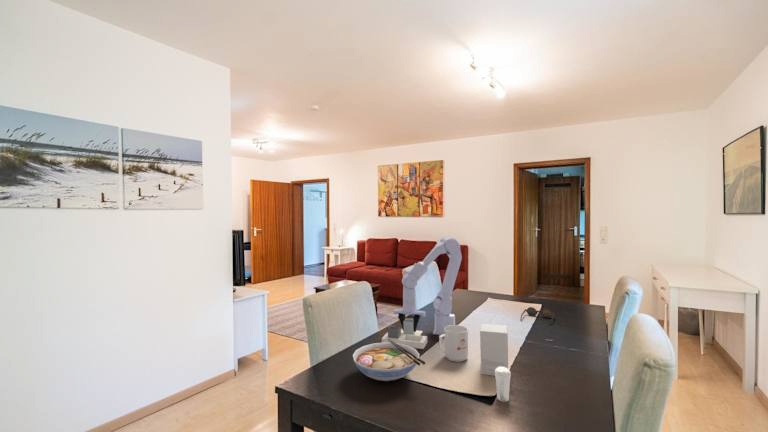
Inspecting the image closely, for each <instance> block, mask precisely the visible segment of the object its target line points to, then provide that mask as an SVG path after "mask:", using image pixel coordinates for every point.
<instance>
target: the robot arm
mask: <svg viewBox="0 0 768 432" xmlns="http://www.w3.org/2000/svg"><path fill="white" fill-rule="evenodd" d="M461 250H462V249H461V244H460V242H459V241H458V240H457V239H456V238H453V237H451V238H450V237H449V236H448V237H447V236H444V237H442V238H441V239H440V240H439V241H438V242H437V243H436V244H435V245H434V247H433V248H432V249H431V250H430V252H429V253H428V254H427V255H426V256H425V257H424V259H423V260H422V261H418V262H417V263H416V262H415V263H414V264H413V267H412V268H411V269H410V270H409V271H407V273H406V274H403V276H402V277H401V278H402V279H401V281H400V282H401V284H402V286H403V287H402V308H395V309H393V315H398V316H397V318H398V321H399V322H400V324H401V325H400V326H401V329H403V331H404V327H403V321H404V320H405V319H406V316H413V318H412V319H413V320H414V332H416V330H417V329H418V328H417V327H418V324H419V321H420V319H421V317H426V311H425V310H419V309H417V307H416V302H417V301H416V287H417V285H418V281H419V280H420V279H421V278H423V276H424V275H425V274H426V273H427V272H428V267H429V266H430V264H432V263H433V262H434V261H435V260H436V259H437V257H439V256H440V255H443V254H447V256H448V258H449V260H448V263H447V266H446V270H445V273H444V278H443V279H442V280H443V281H442V285H441V287H440V291H439V292H438V293H437V294H436V295H437V296H435V298H434V299H433V302H432V305H433V308H434V310H435V311H434V329H433V331H432V335H438V336H440V335H442V334H444V328H445V327H446V326H449V325H456V315H455V314H454V313H452V310H453V306H452V304H453V296H452V294H453V290H454V288H455V284H456V280H457V277H458V273H459V270H460V266H461V262H462V259H463V256H462V251H461Z"/></svg>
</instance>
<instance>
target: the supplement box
mask: <svg viewBox="0 0 768 432" xmlns="http://www.w3.org/2000/svg"><path fill="white" fill-rule="evenodd" d="M507 327H508V326H507V325H504V324H503V325H502V324H493V323H492V324H489V323H481V326H480V330H479V337H480V342H479V344H480V375H485V376H494V377H495V371H494V370H495V369H496V368H497V367H499V366H501V367H505V368H507V369H509V339H508V338H509V337H508V335H509V334H508V328H507ZM493 367H494V368H493Z"/></svg>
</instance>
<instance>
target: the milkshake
mask: <svg viewBox="0 0 768 432" xmlns="http://www.w3.org/2000/svg"><path fill="white" fill-rule="evenodd" d="M493 368H494V367H493ZM494 371H495V376H494V379H495V390H496V397H497V400H498V401H499V402H502V403H505V402H506V403H507V402H508V401H509V400H510V399H509V398H510V389H511V388H510V386H511V385H510V384H511V375H512V372H511V371H510V369H509V368H508V369H507V368H505V367H501V366H499V367H497V368H496V369H495V370H494Z"/></svg>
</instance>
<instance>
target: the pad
mask: <svg viewBox="0 0 768 432" xmlns="http://www.w3.org/2000/svg"><path fill="white" fill-rule="evenodd" d="M401 334H404V331H403V329H402V328H401ZM422 334H423V330H418V329H416V332H415V334H414V335H420V336H422Z"/></svg>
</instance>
